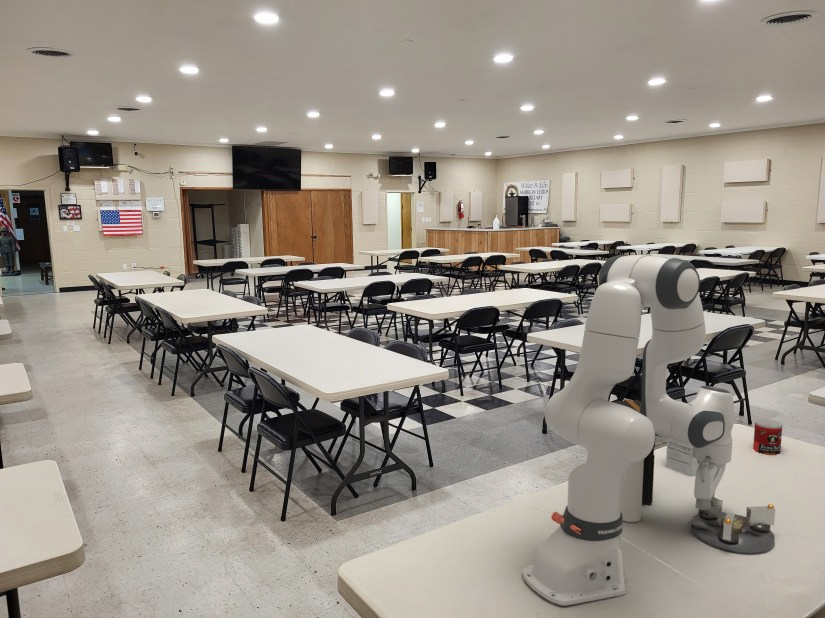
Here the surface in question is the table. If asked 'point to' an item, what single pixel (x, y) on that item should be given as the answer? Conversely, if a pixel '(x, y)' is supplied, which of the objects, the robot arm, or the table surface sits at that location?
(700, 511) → the knob left
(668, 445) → the supplement box
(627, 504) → the paper towel roll
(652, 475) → the voltmeter
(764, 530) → the grey lever knob
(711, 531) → the plate
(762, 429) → the canned food
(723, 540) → the knob near
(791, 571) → the table surface
